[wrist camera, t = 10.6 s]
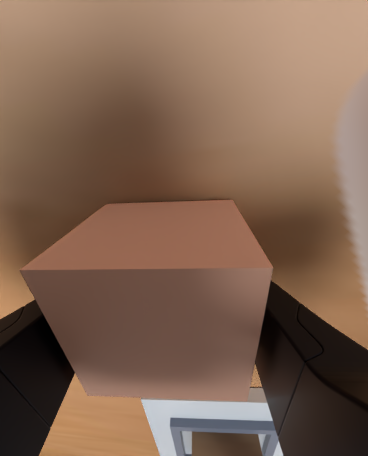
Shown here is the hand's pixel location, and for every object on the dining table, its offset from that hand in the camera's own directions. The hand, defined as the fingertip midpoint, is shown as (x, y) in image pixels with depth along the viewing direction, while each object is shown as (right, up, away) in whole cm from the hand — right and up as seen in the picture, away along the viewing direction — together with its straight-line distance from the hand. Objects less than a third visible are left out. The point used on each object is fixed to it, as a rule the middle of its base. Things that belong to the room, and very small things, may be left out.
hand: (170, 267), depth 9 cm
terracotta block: (0, 0, +1) cm, 1 cm away
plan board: (+5, -19, +11) cm, 22 cm away
